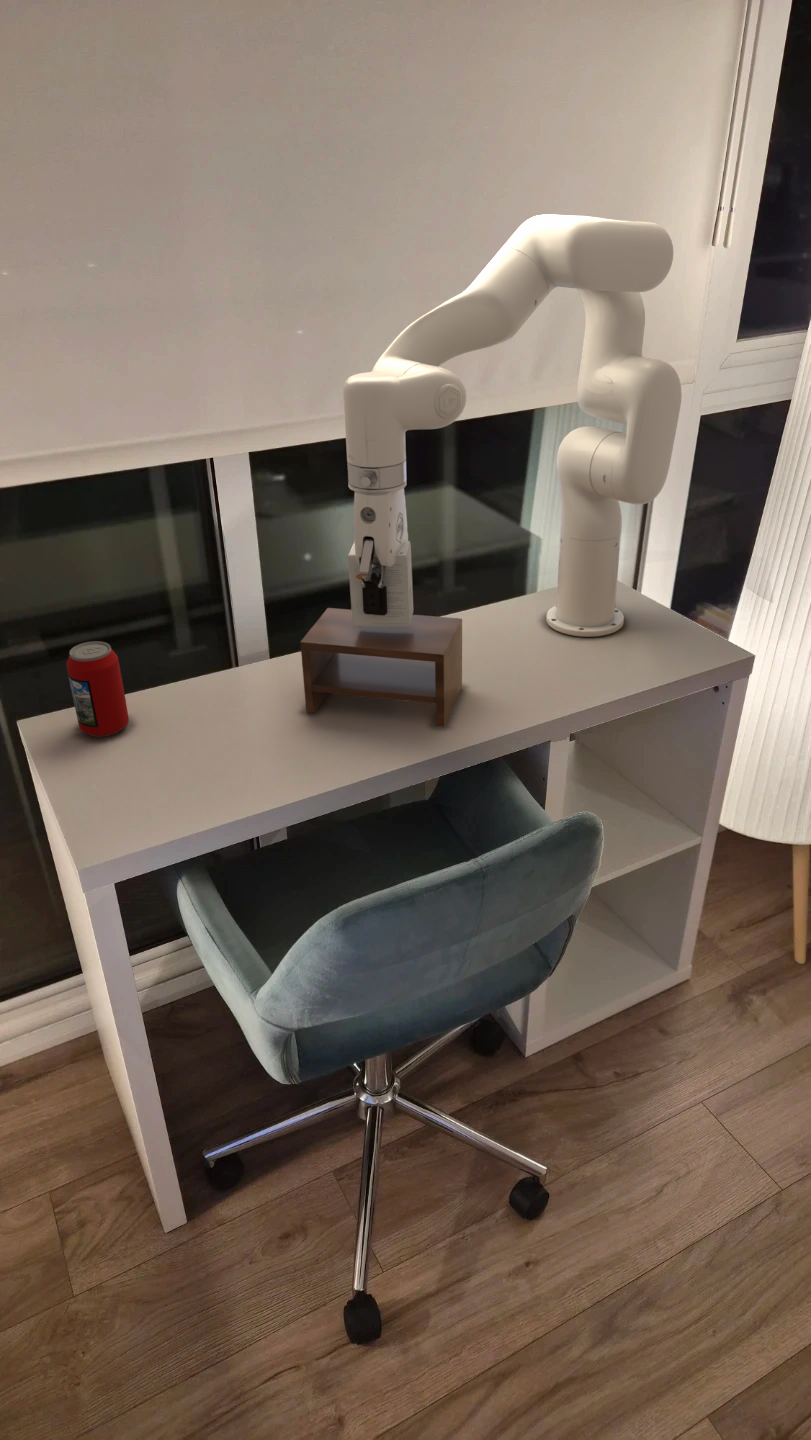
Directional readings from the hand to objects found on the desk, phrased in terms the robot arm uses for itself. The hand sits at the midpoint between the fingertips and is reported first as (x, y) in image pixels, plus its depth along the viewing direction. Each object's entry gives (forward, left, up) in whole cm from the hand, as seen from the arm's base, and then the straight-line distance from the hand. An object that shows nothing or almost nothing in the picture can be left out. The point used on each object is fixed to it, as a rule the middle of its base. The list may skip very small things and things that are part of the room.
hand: (382, 602), depth 142 cm
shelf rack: (0, 0, -15) cm, 15 cm away
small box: (0, 0, -3) cm, 3 cm away
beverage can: (+16, -36, -15) cm, 42 cm away
